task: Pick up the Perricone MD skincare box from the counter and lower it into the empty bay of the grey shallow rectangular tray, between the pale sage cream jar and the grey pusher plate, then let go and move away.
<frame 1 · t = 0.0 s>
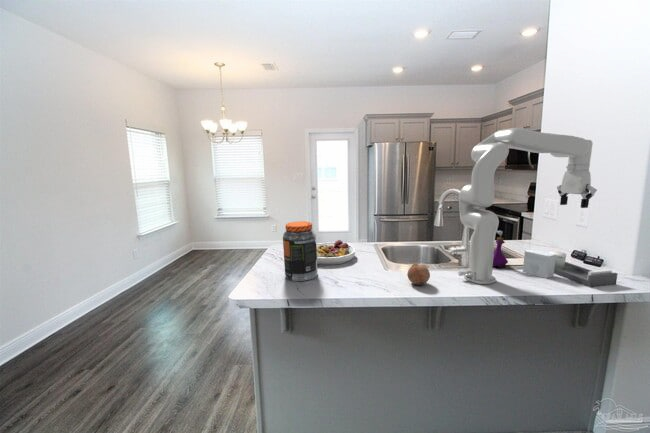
hand: (573, 206, 136), 31 cm above the countertop, tool pointing down, fingers open, 9 cm apart
supplement tub: (301, 276, 144), on the countertop
skincare box: (537, 274, 139), on the countertop
perfume bottle: (496, 265, 151), on the countertop
grey shallow rectangular tray: (572, 274, 137), on the countertop
pusher: (599, 276, 125), point 3 cm above the countertop, slide at 0.0 cm
cream jar: (556, 267, 145), point 1 cm above the countertop, touching grey shallow rectangular tray
bowl: (329, 258, 171), on the countertop
onion: (418, 284, 131), on the countertop
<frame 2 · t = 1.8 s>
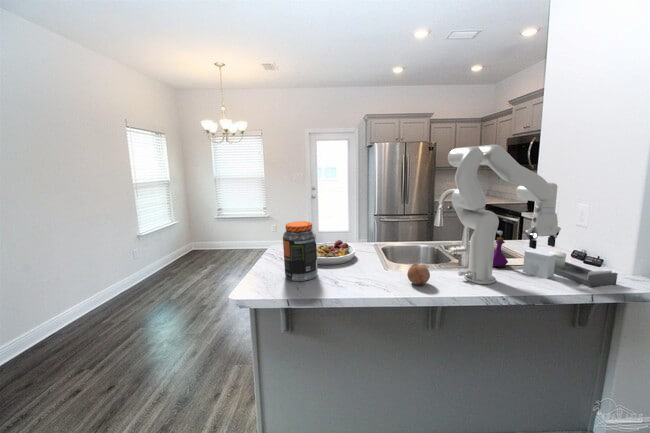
hand: (541, 247, 137), 13 cm above the countertop, tool pointing down, fingers open, 9 cm apart
nothing on the countertop moved.
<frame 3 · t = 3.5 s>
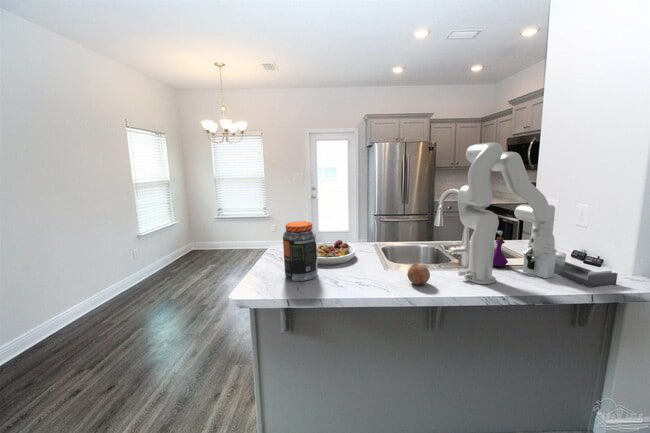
hand: (538, 267, 139), 3 cm above the countertop, tool pointing down, fingers closed on skincare box, 7 cm apart
skincare box: (537, 274, 139), on the countertop, touching gripper
everything else where it was.
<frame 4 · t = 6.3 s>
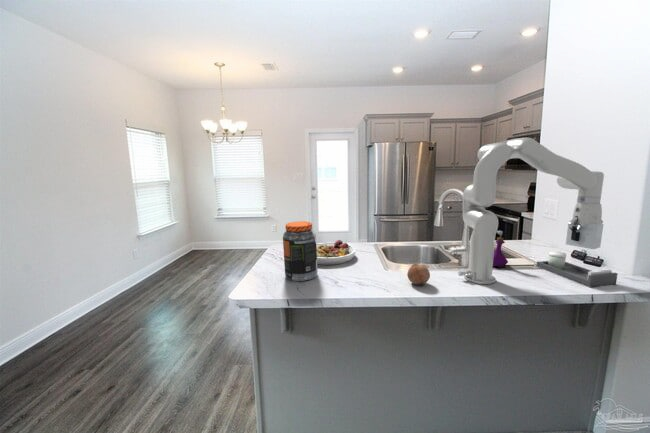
hand: (583, 239, 131), 17 cm above the countertop, tool pointing down, fingers closed on skincare box, 7 cm apart
skincare box: (582, 246, 132), point 14 cm above the countertop, touching gripper
everything else where it was.
when the fingers open (5 cm above the countertop, at t = 9.5 s): skincare box drops 1 cm, resting on grey shallow rectangular tray.
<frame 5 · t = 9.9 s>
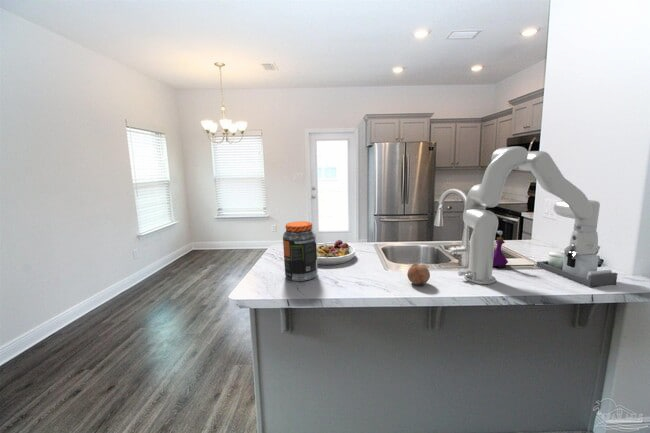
hand: (580, 265, 133), 5 cm above the countertop, tool pointing down, fingers open, 9 cm apart
skincare box: (578, 275, 134), resting on grey shallow rectangular tray
everything else where it was.
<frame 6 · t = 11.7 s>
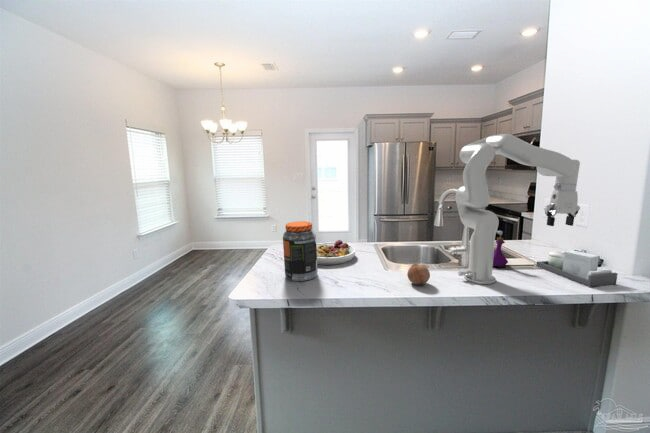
hand: (559, 225, 135), 23 cm above the countertop, tool pointing down, fingers open, 9 cm apart
nothing on the countertop moved.
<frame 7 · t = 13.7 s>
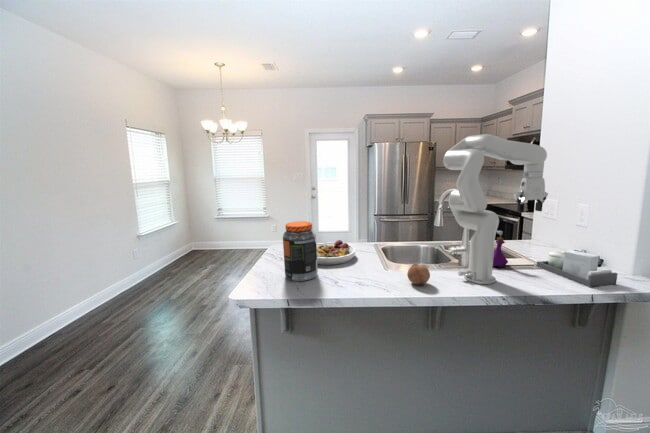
hand: (529, 211, 142), 28 cm above the countertop, tool pointing down, fingers open, 9 cm apart
nothing on the countertop moved.
at the end: skincare box inside the target area (0.2 cm from its centre), resting on grey shallow rectangular tray; skincare box tilted 0°; the gripper is holding nothing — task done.
